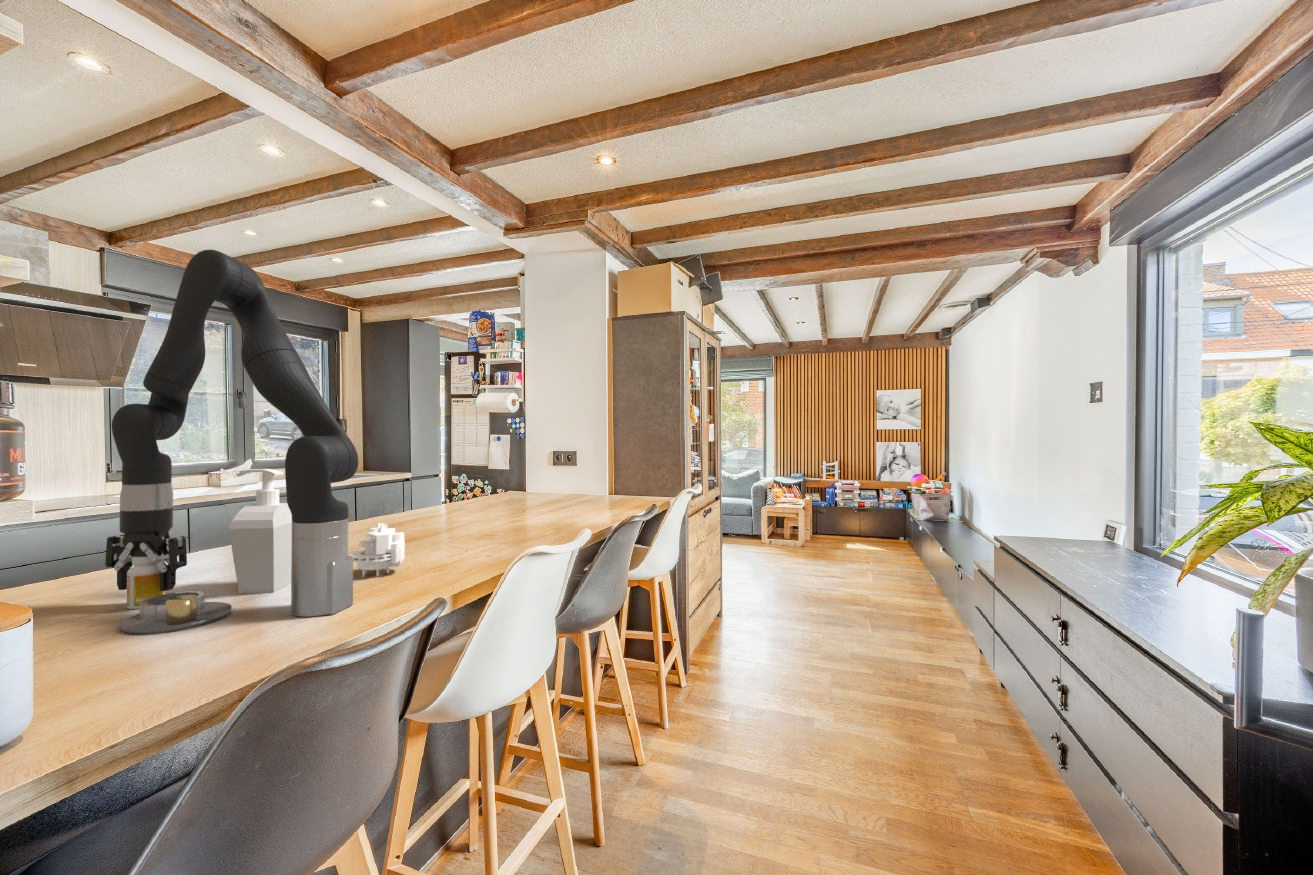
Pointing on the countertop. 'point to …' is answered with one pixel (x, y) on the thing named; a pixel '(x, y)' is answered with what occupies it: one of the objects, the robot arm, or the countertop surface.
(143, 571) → the supplement bottle
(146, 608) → the carrier plate
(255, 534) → the soap bottle
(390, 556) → the mechanical part
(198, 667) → the countertop surface
